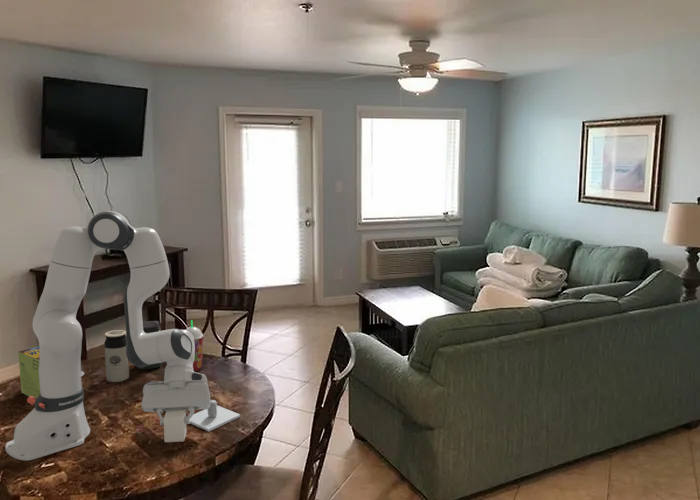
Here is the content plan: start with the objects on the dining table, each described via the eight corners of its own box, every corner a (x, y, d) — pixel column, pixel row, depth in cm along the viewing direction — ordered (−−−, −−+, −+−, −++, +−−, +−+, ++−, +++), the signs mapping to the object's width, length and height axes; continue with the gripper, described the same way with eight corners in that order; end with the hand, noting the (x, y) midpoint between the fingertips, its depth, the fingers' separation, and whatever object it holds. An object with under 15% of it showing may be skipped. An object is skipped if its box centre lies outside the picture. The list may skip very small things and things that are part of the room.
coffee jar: (163, 362, 237) (161, 318, 234) (160, 369, 229) (159, 323, 226) (138, 363, 235) (136, 319, 232) (135, 370, 227) (132, 325, 224)
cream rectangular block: (184, 441, 173) (183, 417, 171) (164, 442, 172) (163, 418, 171) (186, 432, 178) (185, 409, 177) (167, 433, 177) (166, 410, 176)
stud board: (208, 431, 179) (208, 414, 178) (184, 420, 186) (183, 403, 185) (240, 416, 189) (240, 400, 188) (215, 406, 196) (215, 390, 195)
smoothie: (198, 363, 236) (197, 316, 233) (207, 369, 229) (206, 320, 226) (178, 368, 231) (177, 319, 227) (187, 374, 224) (186, 324, 221)
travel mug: (112, 374, 223) (109, 329, 220) (132, 374, 223) (130, 329, 220) (102, 382, 215) (100, 335, 212) (123, 383, 215) (121, 336, 212)
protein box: (44, 404, 197) (41, 360, 194) (20, 393, 205) (17, 351, 202) (73, 393, 205) (70, 351, 203) (49, 383, 214) (46, 343, 211)
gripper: (142, 377, 178) (136, 422, 170) (210, 375, 181) (208, 418, 173) (145, 385, 183) (140, 429, 175) (212, 383, 186) (210, 425, 178)
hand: (174, 424), depth 174 cm, fingers closed on cream rectangular block, 6 cm apart
